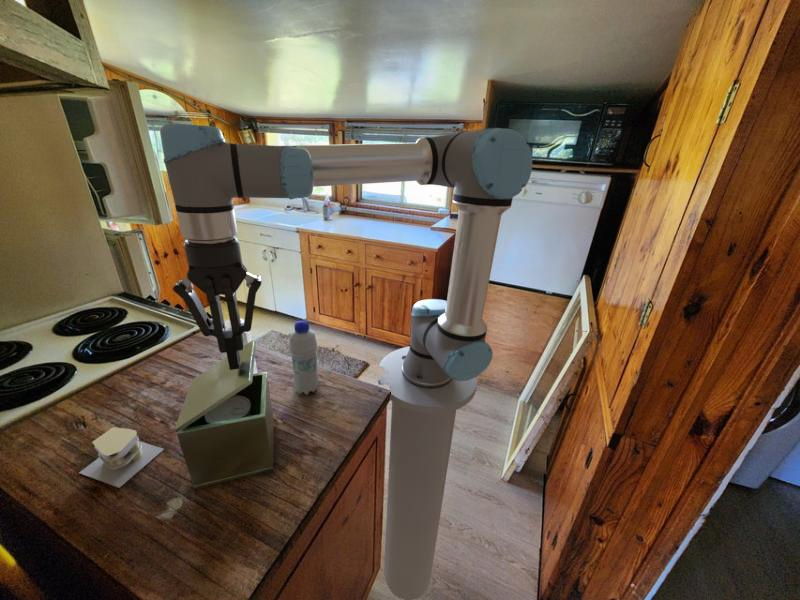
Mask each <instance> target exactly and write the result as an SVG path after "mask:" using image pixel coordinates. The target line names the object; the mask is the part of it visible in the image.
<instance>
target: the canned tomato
mask: <svg viewBox="0 0 800 600" xmlns="http://www.w3.org/2000/svg"><path fill="white" fill-rule="evenodd" d="M249 416H252V410H251V403H250V401H249V400H248V399H247V398H246V397H243V396H232V397H230V398H229V399H227V400H226V401H224V402H223V403H221V404H220V405H218V406H217V407H215V408H214V409H212V410H211V411H209V412H208V413H206V414H205V420H206V424H212V423H218V422H223V421H228V420H233V419H238V418H244V417H249Z"/></svg>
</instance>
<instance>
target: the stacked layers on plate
mask: <svg viewBox="0 0 800 600" xmlns="http://www.w3.org/2000/svg"><path fill="white" fill-rule="evenodd" d="M91 443H92V445H94V449H95V450H96V452H97V453H98V454H97V456H98V457H97V459H96V460H94V461H92V462H91V463H90V464H88V465H87V466H86V467H84V468H83V469H81V470H80V471H79V472H78V474H81V475H83V476H86V477H88V478H91V479H94V480H97V481H100V482H102V483H105V484H108V485H110V486H112V487H116V488H121V487H122V486H123V485H125V484H126V483H127V482H129V480H130V479H132V478H133V477H134V476H135V475H136V474H137V473H138V472H140V471H141V470H142V469H143V468H144V467H145V466H146V465H148V464H149V463H150V462H151V461H152V460H154V459H155V458H156V457H157V456H158V455H160V453H162V452H163V451H164V450H165V448H163V447H161V446H157V445H154V444H150V443H147V442H143V441H141V440H140V437H139V435H138V431H137V430H136V429H131V428H123V427H116V426H113V427H111V428H110V429H108V430H107V431H106V432H104V433H103V434H102V435H100V436H98V437H97V438H96V439H94V440H93V441H91Z"/></svg>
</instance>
